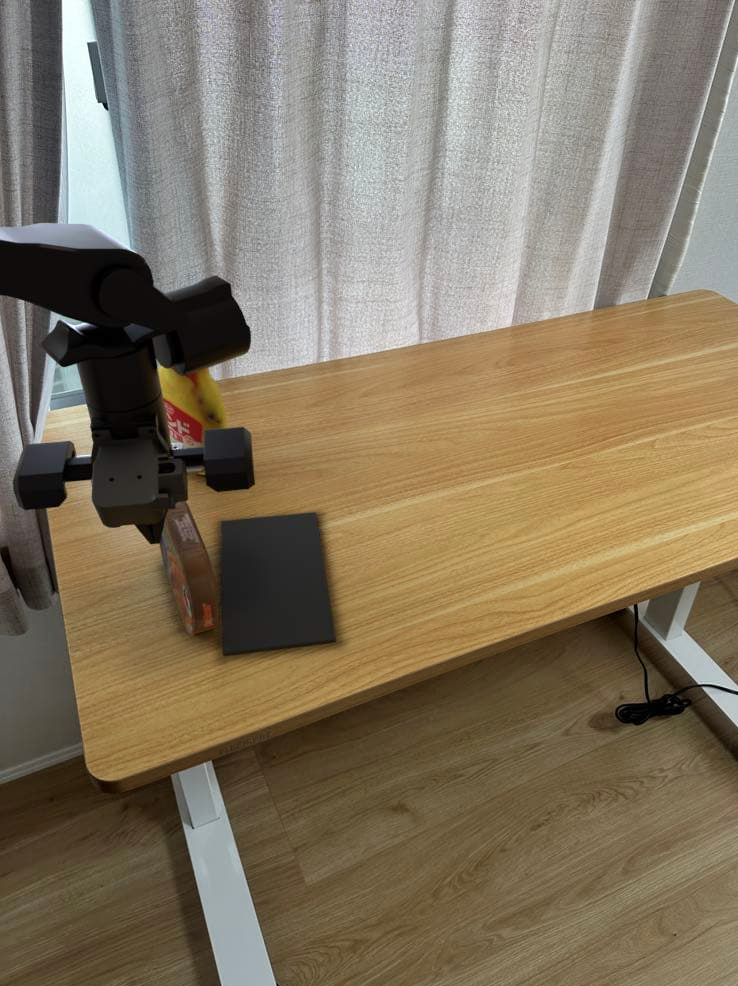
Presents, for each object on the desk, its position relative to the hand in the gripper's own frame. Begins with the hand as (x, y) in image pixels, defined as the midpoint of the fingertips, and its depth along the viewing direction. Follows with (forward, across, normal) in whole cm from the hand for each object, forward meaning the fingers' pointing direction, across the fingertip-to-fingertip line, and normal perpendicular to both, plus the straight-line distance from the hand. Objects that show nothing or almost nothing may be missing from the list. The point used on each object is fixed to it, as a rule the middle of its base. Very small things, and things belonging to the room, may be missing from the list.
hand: (155, 541), depth 72 cm
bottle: (+7, +3, +22) cm, 23 cm away
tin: (+7, +2, 0) cm, 8 cm away
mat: (+7, +10, +1) cm, 12 cm away
